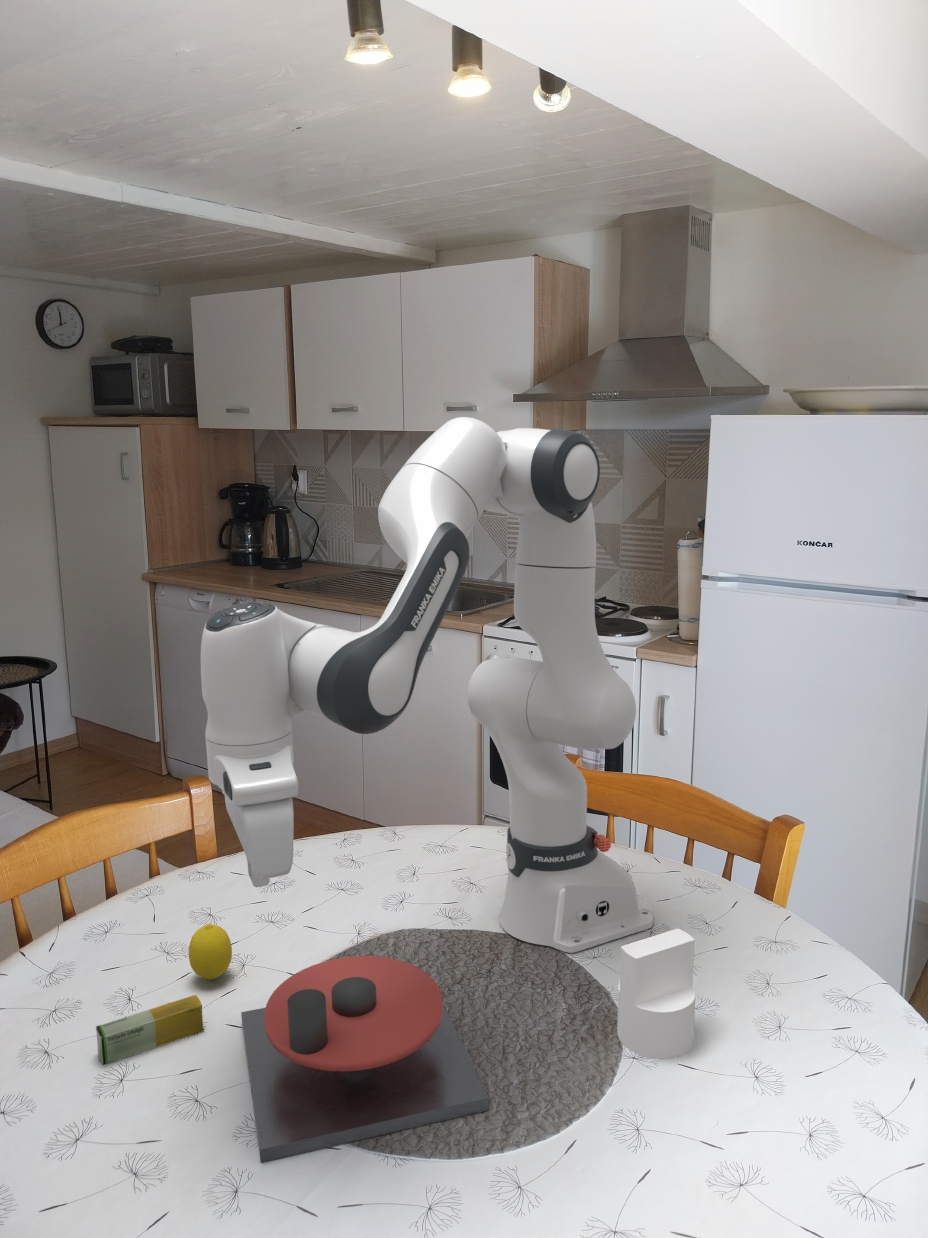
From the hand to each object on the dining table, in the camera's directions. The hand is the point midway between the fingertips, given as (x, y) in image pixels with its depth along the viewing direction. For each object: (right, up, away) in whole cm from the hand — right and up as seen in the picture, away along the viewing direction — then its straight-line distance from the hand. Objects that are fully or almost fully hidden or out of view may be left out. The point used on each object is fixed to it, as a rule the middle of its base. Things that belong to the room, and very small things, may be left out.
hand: (259, 880), depth 103 cm
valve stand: (+10, -23, +7) cm, 26 cm away
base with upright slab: (+45, -22, +11) cm, 51 cm away
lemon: (-11, -20, +24) cm, 33 cm away
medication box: (-15, -23, +11) cm, 30 cm away
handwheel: (+10, -17, +6) cm, 20 cm away
